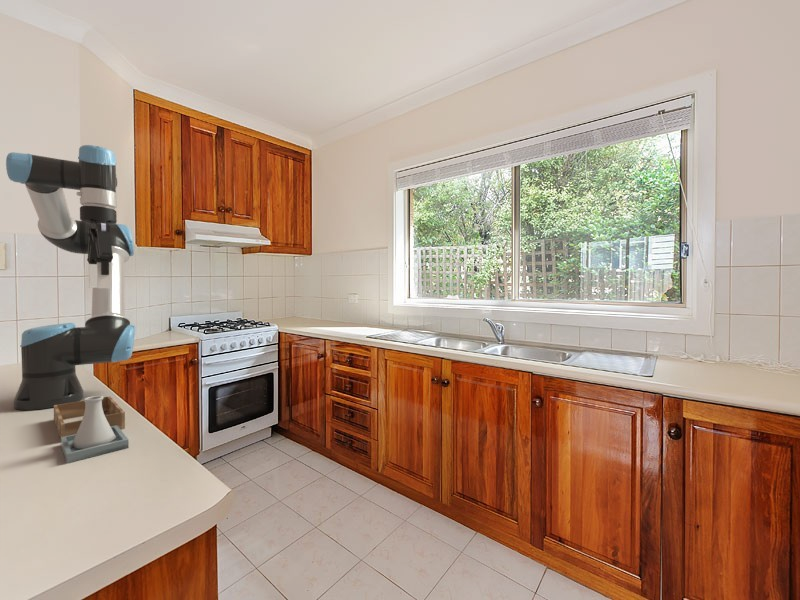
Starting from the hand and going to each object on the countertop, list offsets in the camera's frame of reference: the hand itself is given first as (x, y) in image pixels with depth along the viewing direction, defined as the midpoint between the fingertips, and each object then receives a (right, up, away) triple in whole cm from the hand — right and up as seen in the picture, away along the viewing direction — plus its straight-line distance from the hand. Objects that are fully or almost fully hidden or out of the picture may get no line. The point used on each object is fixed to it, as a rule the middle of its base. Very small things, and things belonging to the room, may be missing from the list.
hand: (99, 288), depth 98 cm
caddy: (+1, -35, -5) cm, 35 cm away
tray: (+13, -35, -17) cm, 41 cm away
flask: (+13, -35, -18) cm, 41 cm away
